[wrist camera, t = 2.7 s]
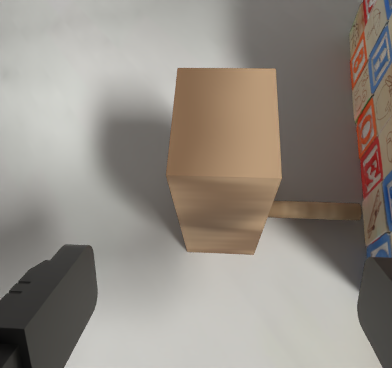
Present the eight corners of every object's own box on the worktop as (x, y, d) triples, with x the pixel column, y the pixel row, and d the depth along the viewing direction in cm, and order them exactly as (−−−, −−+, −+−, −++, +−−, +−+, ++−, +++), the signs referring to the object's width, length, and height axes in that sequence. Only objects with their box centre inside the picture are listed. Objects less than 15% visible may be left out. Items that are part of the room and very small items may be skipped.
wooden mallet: (345, 182, 23) (430, 69, 14) (356, 259, 20) (467, 183, 11) (192, 178, 23) (177, 68, 14) (187, 251, 21) (165, 175, 12)
